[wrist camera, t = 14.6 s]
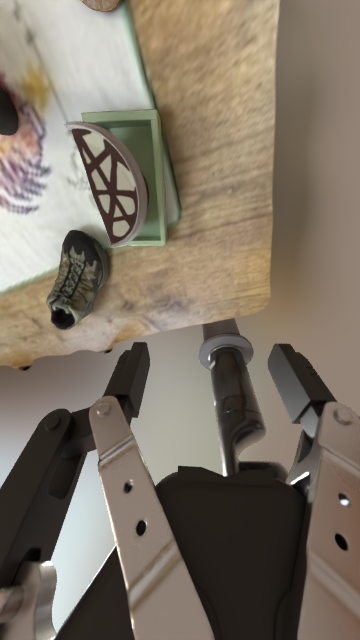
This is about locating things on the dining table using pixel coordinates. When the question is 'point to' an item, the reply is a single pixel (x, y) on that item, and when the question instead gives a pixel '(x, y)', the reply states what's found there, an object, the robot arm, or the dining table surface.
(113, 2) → the flatbread
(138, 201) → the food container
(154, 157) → the holder
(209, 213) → the dining table surface
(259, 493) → the robot arm
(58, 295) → the hiking shoe
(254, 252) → the dining table surface
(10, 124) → the drinking cup
